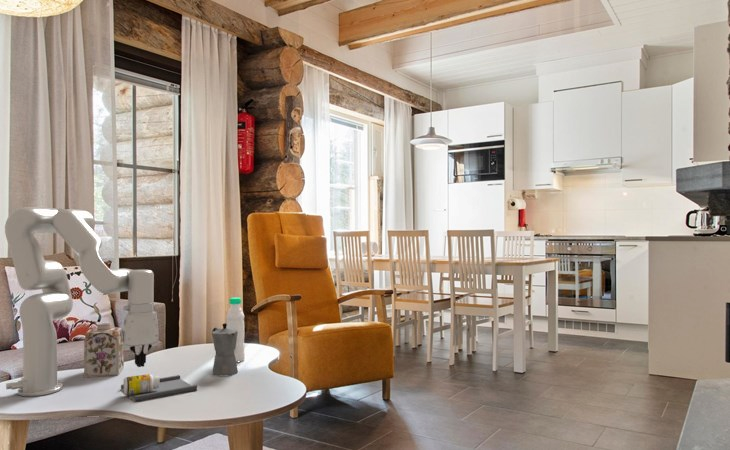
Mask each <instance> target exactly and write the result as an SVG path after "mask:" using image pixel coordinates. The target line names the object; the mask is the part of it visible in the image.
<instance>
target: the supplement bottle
mask: <svg viewBox="0 0 730 450" xmlns="http://www.w3.org/2000/svg"><path fill="white" fill-rule="evenodd" d="M159 378H160V376H159V375H152V373H151V374H150V373H148V374H142V375H141V374H140V375H132V376H131V375H130V376H126V377H124V378H123V384H124V392H123V394H124V395H125V396H128V395H132V394H140V393H147V392H152V390H153V389H157V388H159Z"/></svg>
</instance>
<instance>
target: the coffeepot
mask: <svg viewBox="0 0 730 450" xmlns="http://www.w3.org/2000/svg"><path fill="white" fill-rule="evenodd" d="M226 327H227V322H226V323H222V328H218V327H214V328H213V329H212V330H211V336H212V341H213V346H214V347H213V348H214V351H215V354H214V360H213V367H212V375H213V374H214V375H213V376H215V375H229V376H233V375H232V374H234V373H236V374H237V373H238V372H239V370H238V365H237V362H236V358H235V354H234V350H235V348H236V341H237V333H238V331H237V330H234V329H228V328H226ZM234 375H235V374H234Z"/></svg>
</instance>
